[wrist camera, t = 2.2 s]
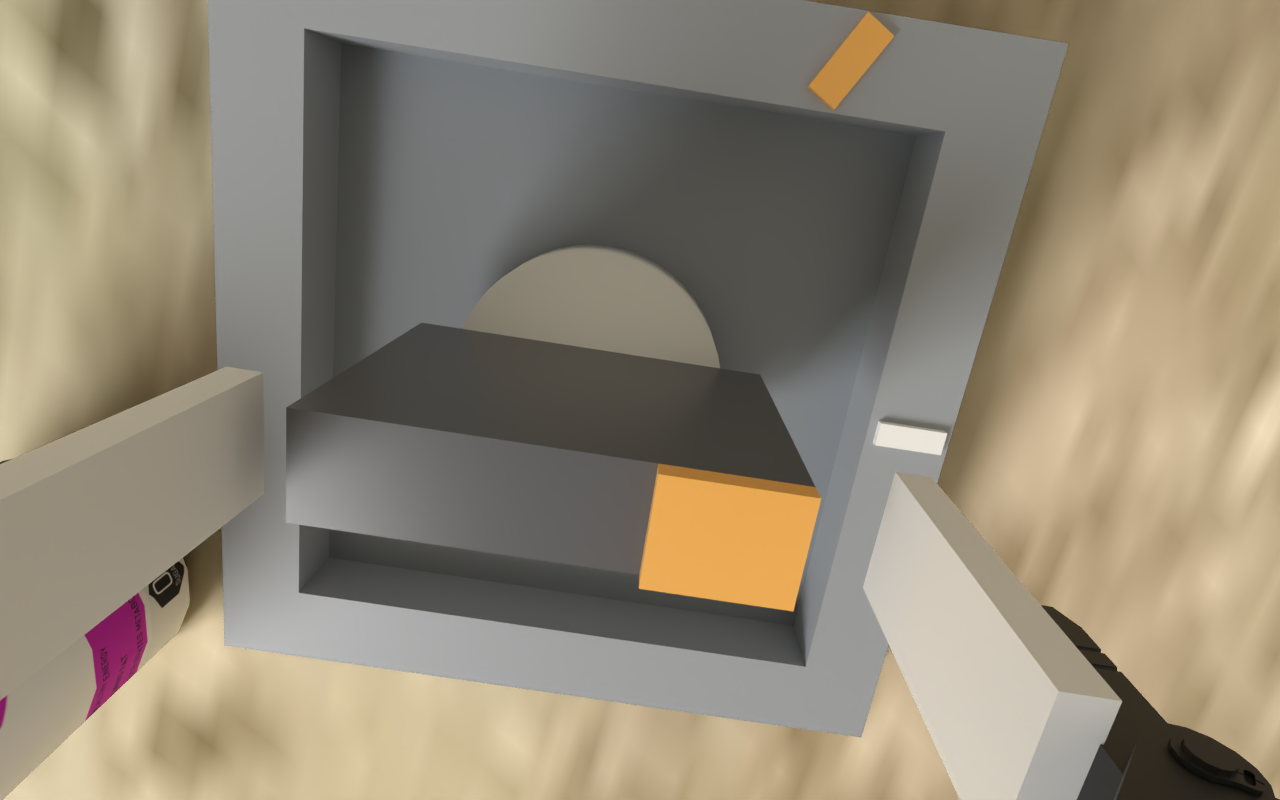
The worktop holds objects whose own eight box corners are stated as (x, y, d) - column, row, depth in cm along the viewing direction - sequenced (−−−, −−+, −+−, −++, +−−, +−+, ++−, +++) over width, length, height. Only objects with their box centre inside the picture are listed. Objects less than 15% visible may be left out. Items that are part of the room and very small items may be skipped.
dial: (431, 460, 25) (273, 658, 15) (447, 220, 22) (272, 259, 12) (722, 504, 25) (764, 729, 15) (769, 270, 22) (858, 350, 12)
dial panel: (276, 589, 28) (220, 649, 24) (276, -56, 21) (199, -102, 18) (837, 671, 28) (863, 742, 25) (1006, 63, 22) (1073, 42, 18)
